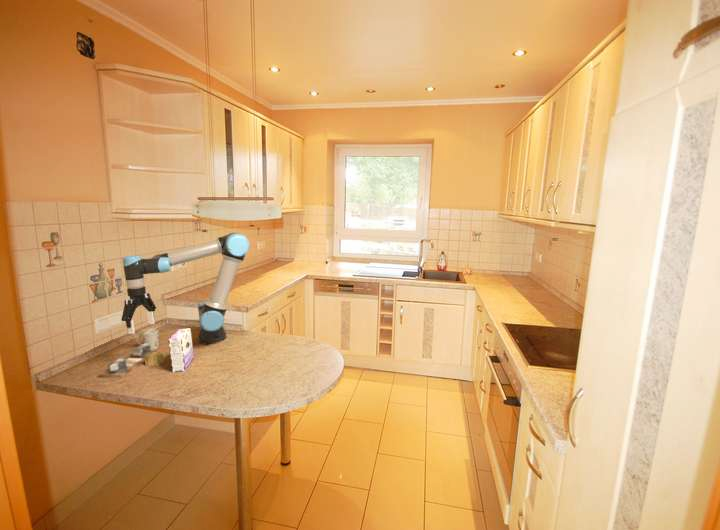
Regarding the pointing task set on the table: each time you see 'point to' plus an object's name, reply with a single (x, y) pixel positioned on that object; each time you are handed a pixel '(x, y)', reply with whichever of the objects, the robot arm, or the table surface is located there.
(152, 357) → the block
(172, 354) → the candy box
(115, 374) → the shaft bed
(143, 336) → the mug
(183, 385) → the table surface
